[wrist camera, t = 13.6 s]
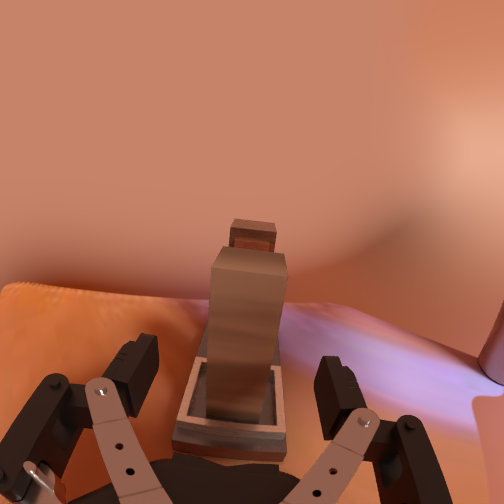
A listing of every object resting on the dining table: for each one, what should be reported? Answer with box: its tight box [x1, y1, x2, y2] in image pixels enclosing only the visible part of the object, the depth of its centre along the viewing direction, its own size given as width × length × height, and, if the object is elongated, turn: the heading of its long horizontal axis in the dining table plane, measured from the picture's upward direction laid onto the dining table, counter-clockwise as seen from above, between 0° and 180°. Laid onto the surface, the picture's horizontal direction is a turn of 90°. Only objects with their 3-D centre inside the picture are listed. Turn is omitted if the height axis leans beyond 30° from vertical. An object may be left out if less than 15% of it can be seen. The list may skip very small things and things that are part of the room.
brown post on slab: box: [171, 219, 287, 462], centre depth 23 cm, size 20×8×14 cm, turn 178°
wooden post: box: [206, 246, 288, 422], centre depth 18 cm, size 4×4×12 cm
